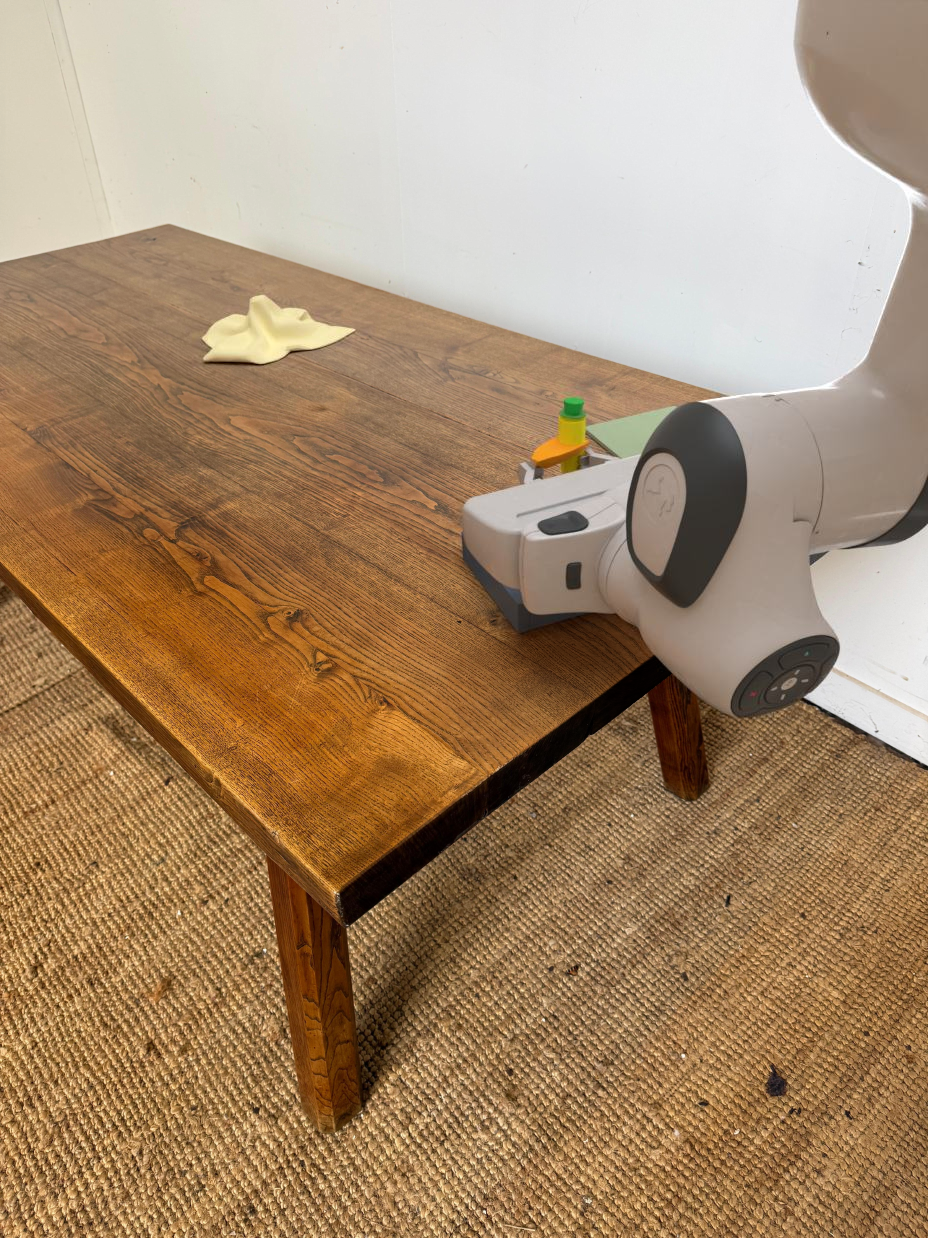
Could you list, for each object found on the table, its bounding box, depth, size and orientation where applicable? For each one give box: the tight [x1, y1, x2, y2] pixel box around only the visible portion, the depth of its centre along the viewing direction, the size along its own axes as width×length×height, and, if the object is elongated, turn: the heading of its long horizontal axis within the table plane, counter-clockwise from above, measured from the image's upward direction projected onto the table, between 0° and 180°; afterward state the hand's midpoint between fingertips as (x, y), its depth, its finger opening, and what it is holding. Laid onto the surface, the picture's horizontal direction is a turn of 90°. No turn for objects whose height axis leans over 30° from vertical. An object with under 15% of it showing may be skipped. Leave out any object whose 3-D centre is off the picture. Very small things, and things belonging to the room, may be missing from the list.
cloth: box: [201, 294, 356, 365], centre depth 126 cm, size 22×19×6 cm
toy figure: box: [530, 396, 590, 475], centre depth 72 cm, size 7×4×12 cm, turn 131°
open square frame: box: [460, 531, 590, 635], centre depth 76 cm, size 12×12×3 cm
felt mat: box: [585, 405, 678, 459], centre depth 96 cm, size 12×12×1 cm
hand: (551, 462), depth 71 cm, fingers closed on toy figure, 3 cm apart
